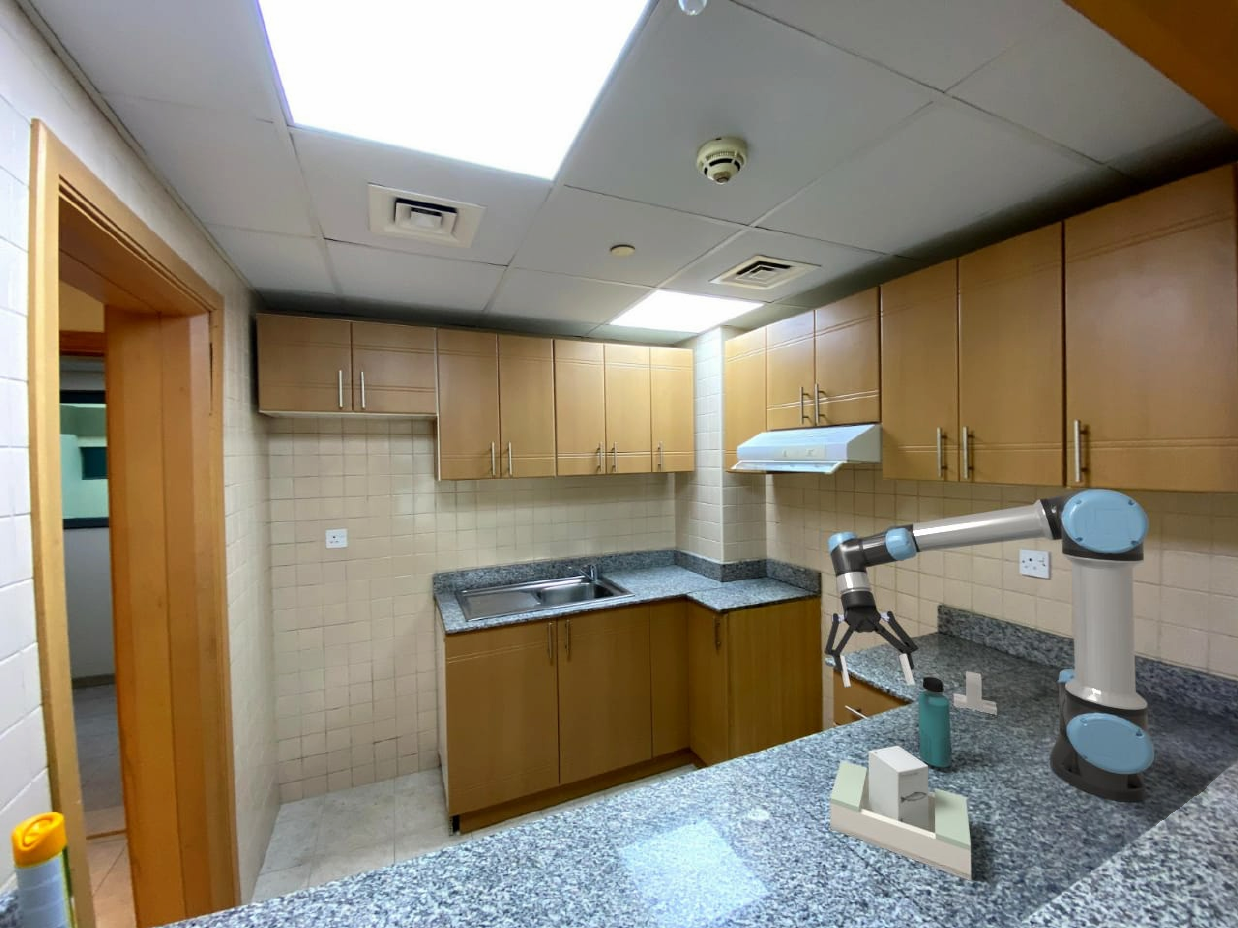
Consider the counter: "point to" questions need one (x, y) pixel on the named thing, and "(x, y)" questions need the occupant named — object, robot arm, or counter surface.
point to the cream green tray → (904, 824)
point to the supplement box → (898, 786)
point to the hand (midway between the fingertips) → (879, 686)
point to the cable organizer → (974, 696)
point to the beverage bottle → (934, 724)
